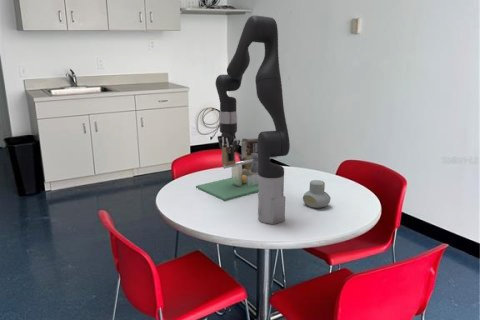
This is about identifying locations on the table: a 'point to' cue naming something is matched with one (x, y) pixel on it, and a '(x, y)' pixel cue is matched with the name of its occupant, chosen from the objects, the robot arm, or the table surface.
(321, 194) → the air freshener
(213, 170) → the table surface
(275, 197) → the robot arm
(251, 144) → the coffee box
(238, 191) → the pitch
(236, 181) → the rod
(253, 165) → the rod support
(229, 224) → the table surface
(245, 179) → the ball
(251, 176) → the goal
